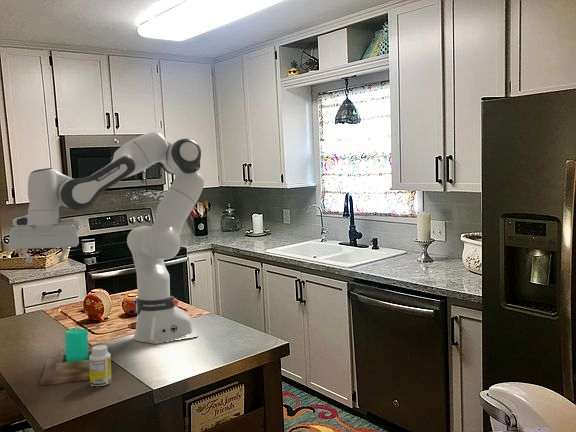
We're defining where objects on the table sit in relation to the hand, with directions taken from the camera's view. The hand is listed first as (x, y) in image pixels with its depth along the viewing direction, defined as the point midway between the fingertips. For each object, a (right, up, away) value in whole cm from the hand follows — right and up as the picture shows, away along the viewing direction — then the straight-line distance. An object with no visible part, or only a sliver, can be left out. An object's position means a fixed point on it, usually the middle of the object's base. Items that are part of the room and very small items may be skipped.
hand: (45, 261), depth 167 cm
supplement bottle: (+27, -31, -26) cm, 49 cm away
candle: (+17, -29, -15) cm, 37 cm away
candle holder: (+17, -30, -15) cm, 38 cm away
